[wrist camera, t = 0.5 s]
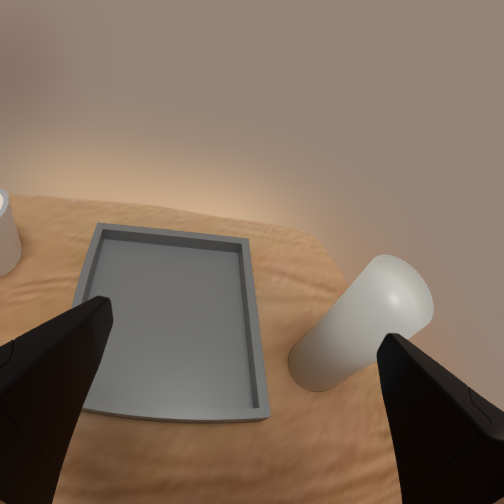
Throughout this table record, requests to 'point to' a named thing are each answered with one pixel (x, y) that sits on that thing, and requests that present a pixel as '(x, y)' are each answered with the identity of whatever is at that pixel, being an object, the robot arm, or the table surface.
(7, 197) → the shot glass
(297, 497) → the table surface
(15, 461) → the robot arm
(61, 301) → the table surface
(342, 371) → the candle
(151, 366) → the tray
